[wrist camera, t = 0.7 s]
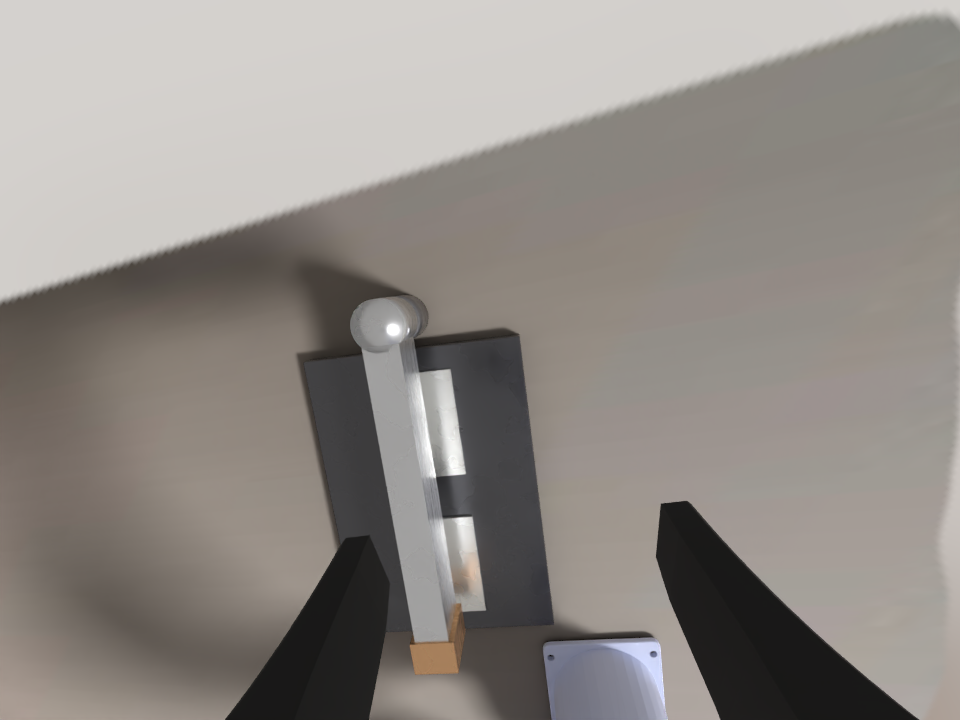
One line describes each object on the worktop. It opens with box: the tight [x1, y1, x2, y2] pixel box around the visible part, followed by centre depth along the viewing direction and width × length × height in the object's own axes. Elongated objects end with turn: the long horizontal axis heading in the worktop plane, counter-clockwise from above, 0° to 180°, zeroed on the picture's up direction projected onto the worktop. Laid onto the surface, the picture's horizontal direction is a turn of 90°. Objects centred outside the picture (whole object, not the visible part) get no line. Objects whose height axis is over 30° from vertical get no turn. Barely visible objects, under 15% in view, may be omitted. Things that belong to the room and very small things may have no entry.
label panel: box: [304, 295, 554, 632], centre depth 29 cm, size 23×14×3 cm, turn 8°
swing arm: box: [350, 297, 466, 675], centre depth 26 cm, size 22×3×3 cm, turn 8°
